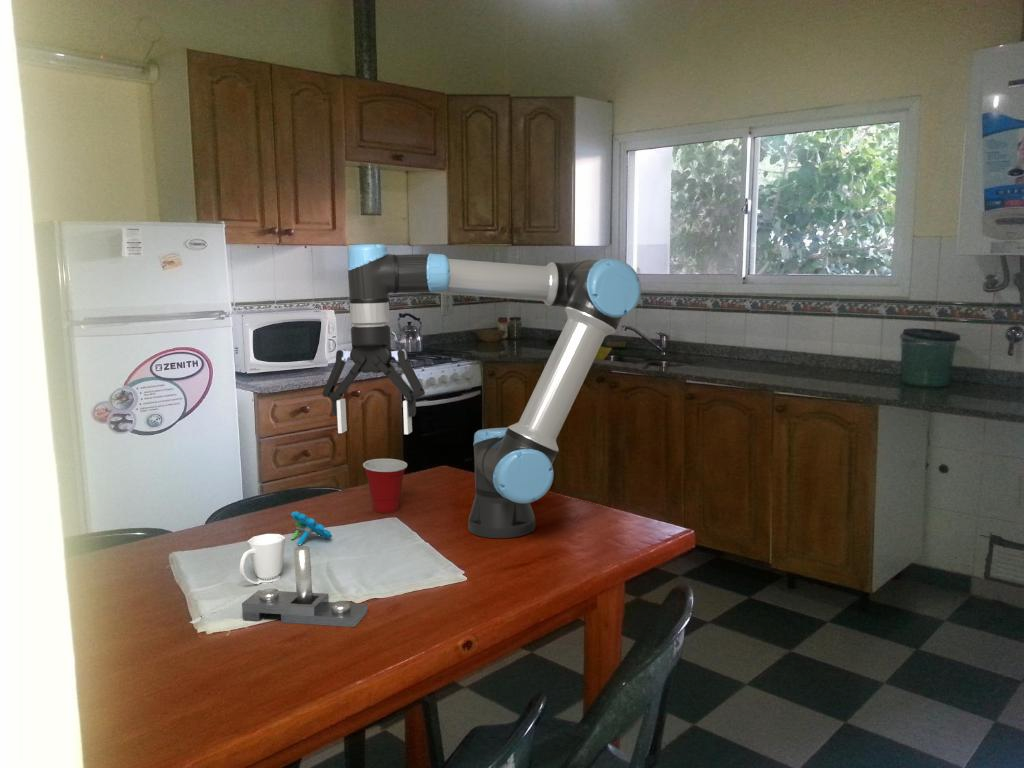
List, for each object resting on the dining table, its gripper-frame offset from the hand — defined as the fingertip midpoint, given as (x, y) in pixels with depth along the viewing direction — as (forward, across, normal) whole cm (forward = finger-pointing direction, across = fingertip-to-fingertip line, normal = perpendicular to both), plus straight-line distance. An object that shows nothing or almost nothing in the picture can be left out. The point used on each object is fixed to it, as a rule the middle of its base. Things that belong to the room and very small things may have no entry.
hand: (375, 432), depth 164 cm
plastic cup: (+27, +11, -36) cm, 46 cm away
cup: (+27, +19, +13) cm, 35 cm away
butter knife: (+27, +22, +32) cm, 48 cm away
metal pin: (+27, +4, +27) cm, 38 cm away
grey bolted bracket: (+27, +4, +27) cm, 38 cm away
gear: (+27, +20, -11) cm, 35 cm away
